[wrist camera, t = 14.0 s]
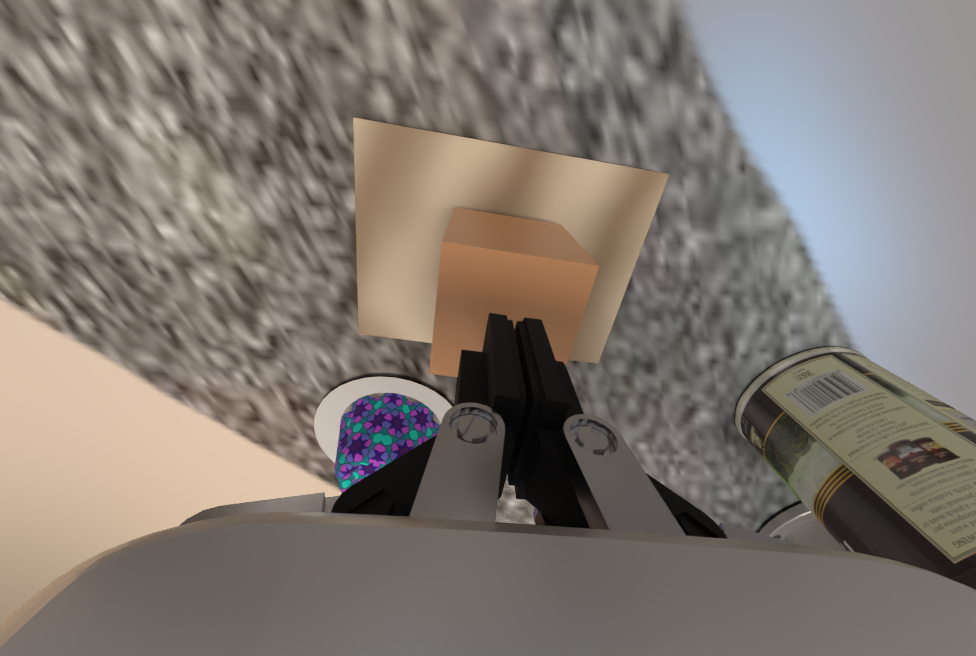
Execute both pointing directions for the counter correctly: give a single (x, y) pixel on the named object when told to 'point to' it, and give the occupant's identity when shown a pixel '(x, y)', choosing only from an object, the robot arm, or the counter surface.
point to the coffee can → (869, 457)
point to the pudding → (375, 424)
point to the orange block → (507, 283)
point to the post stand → (493, 189)
